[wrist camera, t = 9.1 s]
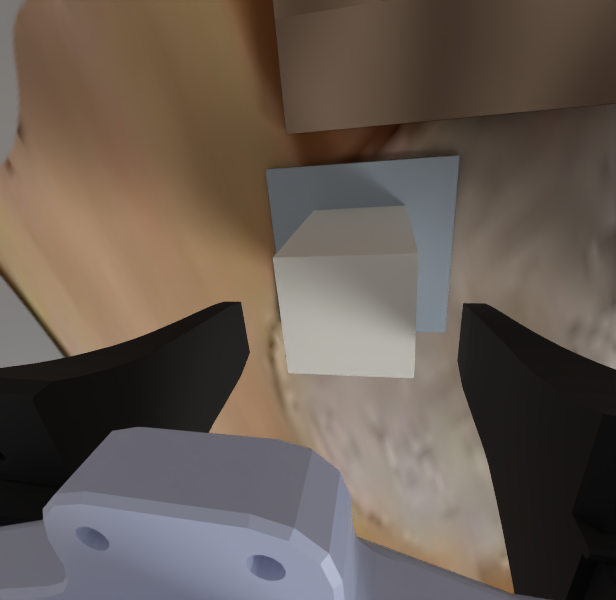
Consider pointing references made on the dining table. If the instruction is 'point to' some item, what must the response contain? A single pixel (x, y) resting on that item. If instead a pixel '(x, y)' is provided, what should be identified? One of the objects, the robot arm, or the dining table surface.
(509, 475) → the robot arm
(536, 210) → the dining table surface
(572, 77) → the pocket board
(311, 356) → the cream block
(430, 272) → the slate mat
